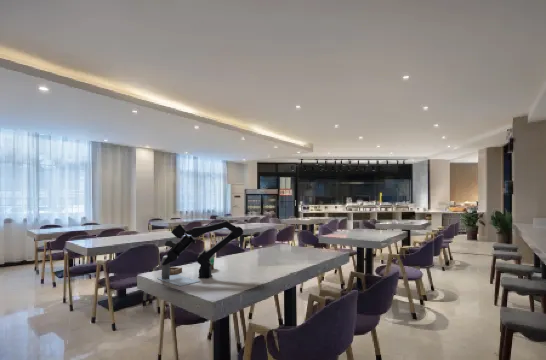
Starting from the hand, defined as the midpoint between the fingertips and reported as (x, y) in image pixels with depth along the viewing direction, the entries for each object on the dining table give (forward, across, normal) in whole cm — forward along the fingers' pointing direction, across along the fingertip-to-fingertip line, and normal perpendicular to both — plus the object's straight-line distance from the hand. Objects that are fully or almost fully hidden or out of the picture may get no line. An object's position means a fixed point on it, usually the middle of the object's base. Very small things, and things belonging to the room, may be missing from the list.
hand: (163, 264), depth 181 cm
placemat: (0, +5, +12) cm, 13 cm away
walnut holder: (+4, -16, +8) cm, 18 cm away
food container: (-13, -23, +25) cm, 36 cm away
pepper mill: (+5, 0, +7) cm, 8 cm away
